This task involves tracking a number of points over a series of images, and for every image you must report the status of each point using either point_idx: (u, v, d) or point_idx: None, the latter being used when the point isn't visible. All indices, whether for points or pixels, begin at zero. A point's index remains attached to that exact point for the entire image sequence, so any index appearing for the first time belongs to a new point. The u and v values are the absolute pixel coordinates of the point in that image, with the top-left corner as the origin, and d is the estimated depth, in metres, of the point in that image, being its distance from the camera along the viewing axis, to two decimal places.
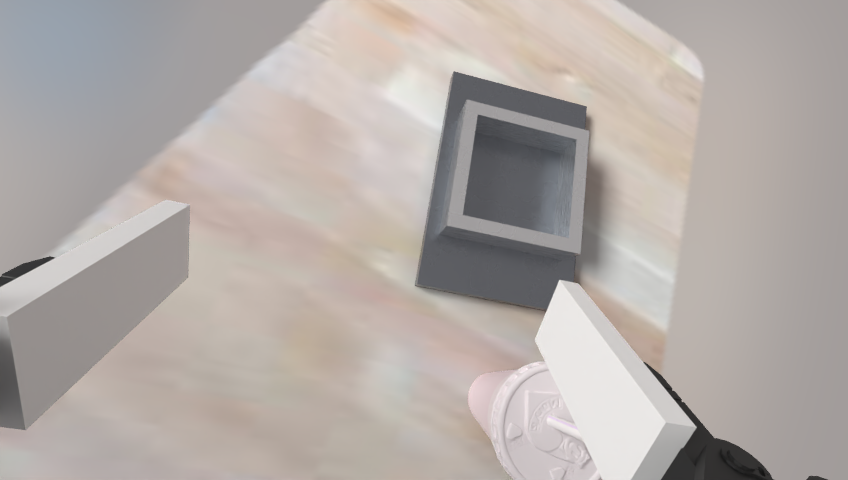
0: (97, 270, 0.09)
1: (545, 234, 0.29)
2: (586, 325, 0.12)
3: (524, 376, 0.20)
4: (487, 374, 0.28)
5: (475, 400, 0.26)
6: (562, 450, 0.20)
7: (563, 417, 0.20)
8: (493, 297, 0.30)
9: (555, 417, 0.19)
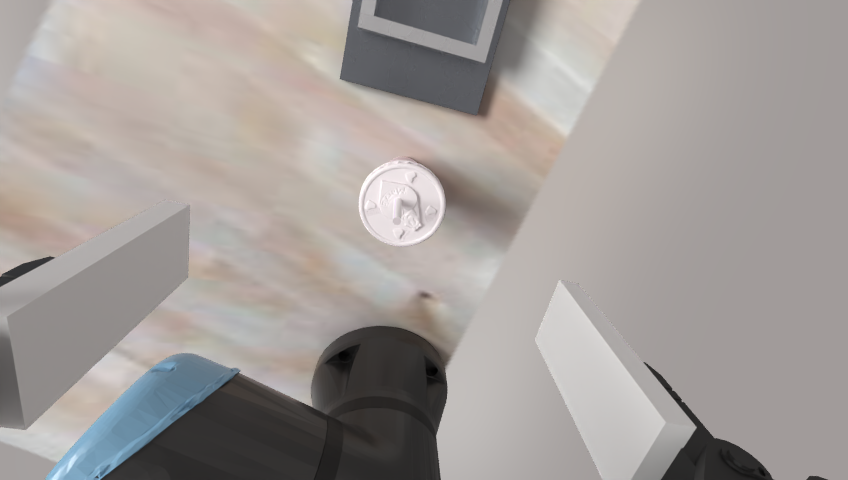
0: (97, 270, 0.09)
1: (453, 40, 0.31)
2: (586, 325, 0.12)
3: (381, 170, 0.28)
4: (394, 159, 0.36)
5: None
6: (402, 219, 0.29)
7: (405, 200, 0.29)
8: (407, 95, 0.34)
9: (396, 200, 0.28)
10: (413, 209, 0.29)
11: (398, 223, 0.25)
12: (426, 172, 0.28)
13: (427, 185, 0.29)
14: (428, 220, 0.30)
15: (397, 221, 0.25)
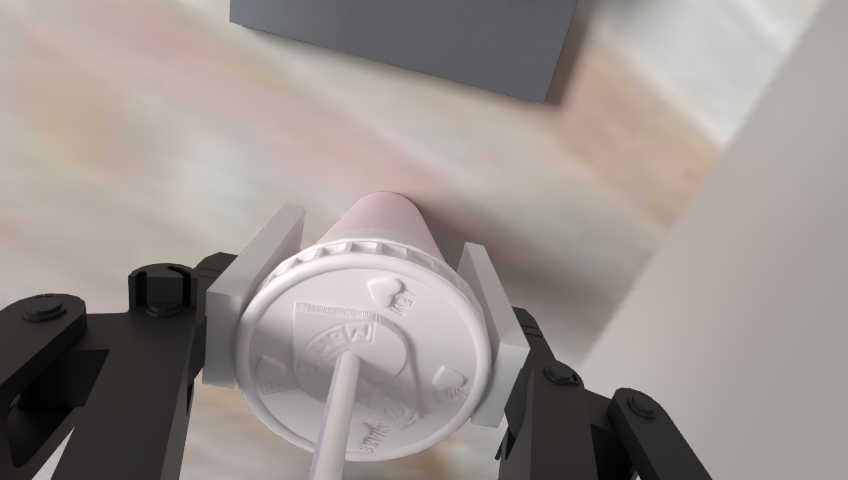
0: (270, 263, 0.11)
1: None
2: (474, 276, 0.14)
3: (292, 276, 0.09)
4: (362, 201, 0.17)
5: None
6: (365, 405, 0.10)
7: (373, 358, 0.09)
8: (389, 60, 0.15)
9: (341, 367, 0.09)
10: (396, 380, 0.10)
11: None
12: (434, 279, 0.09)
13: (438, 314, 0.09)
14: (441, 401, 0.10)
15: None
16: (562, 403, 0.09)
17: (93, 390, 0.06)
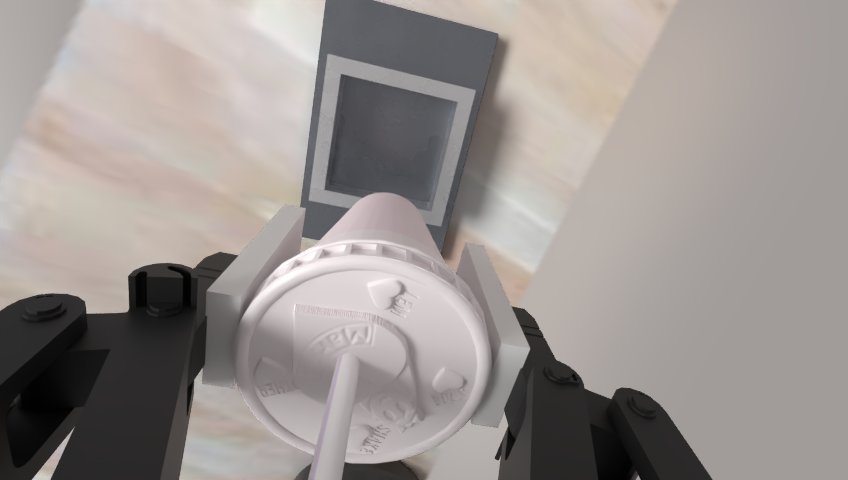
0: (270, 263, 0.11)
1: None
2: (474, 277, 0.14)
3: (292, 277, 0.09)
4: (362, 202, 0.16)
5: None
6: (365, 407, 0.10)
7: (372, 360, 0.09)
8: None
9: (341, 369, 0.09)
10: (396, 382, 0.10)
11: None
12: (435, 281, 0.09)
13: (438, 316, 0.09)
14: (441, 403, 0.10)
15: None
16: (562, 403, 0.09)
17: (93, 390, 0.06)
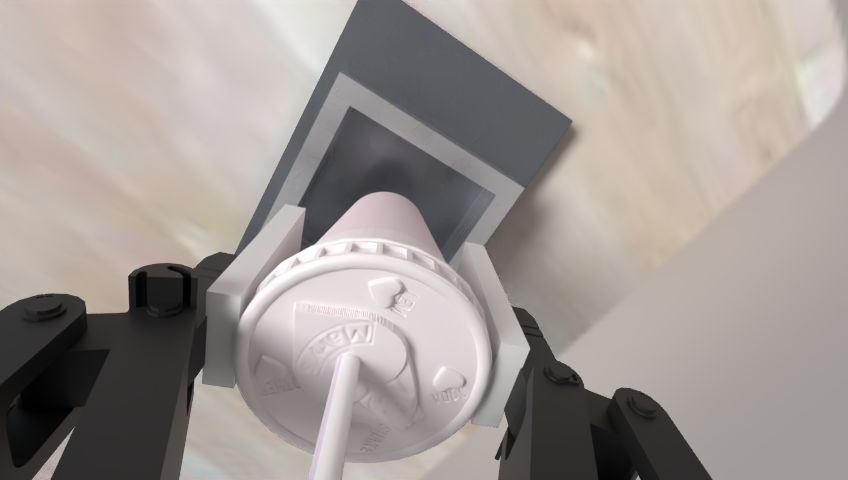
0: (270, 263, 0.11)
1: None
2: (474, 276, 0.14)
3: (292, 275, 0.09)
4: (362, 201, 0.16)
5: None
6: (365, 406, 0.10)
7: (373, 359, 0.09)
8: None
9: (341, 368, 0.09)
10: (396, 381, 0.10)
11: None
12: (435, 280, 0.09)
13: (438, 315, 0.09)
14: (441, 402, 0.10)
15: None
16: (562, 403, 0.09)
17: (93, 390, 0.06)
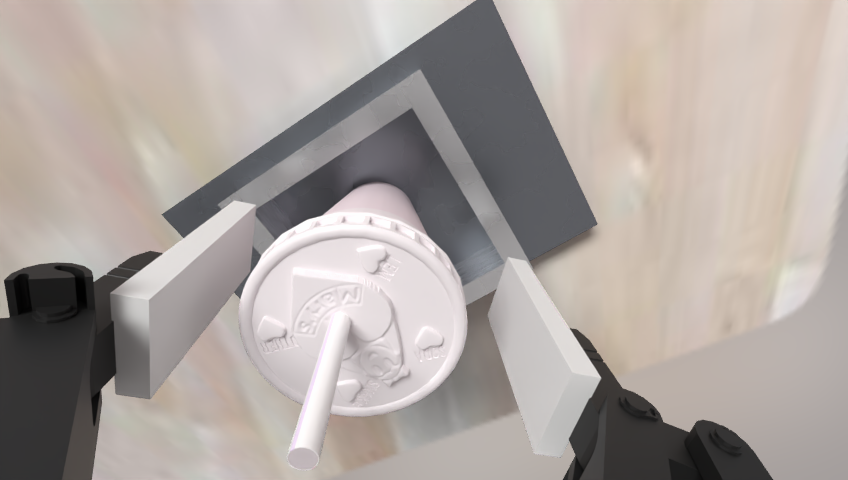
0: (199, 262, 0.10)
1: None
2: (524, 295, 0.13)
3: (291, 243, 0.10)
4: (356, 189, 0.18)
5: None
6: (356, 362, 0.11)
7: (362, 318, 0.11)
8: None
9: (333, 324, 0.10)
10: (383, 339, 0.11)
11: (309, 465, 0.07)
12: (415, 247, 0.10)
13: (418, 279, 0.11)
14: (424, 360, 0.12)
15: (307, 456, 0.07)
16: (639, 436, 0.08)
17: None
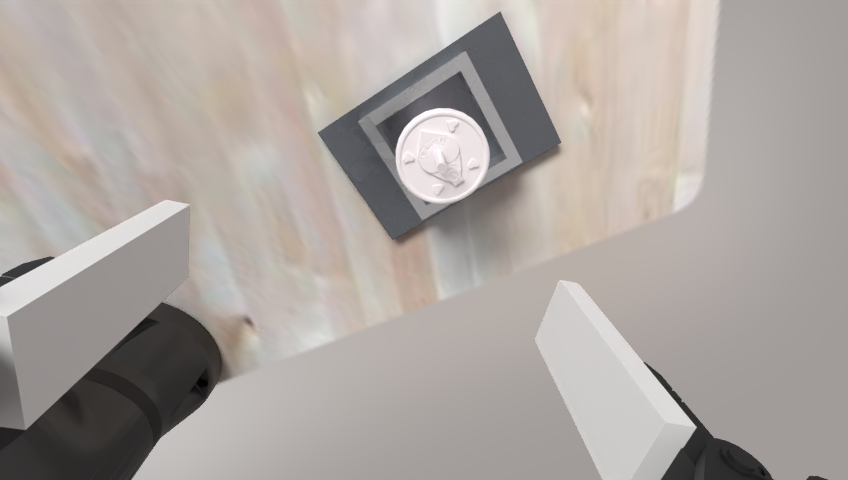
0: (97, 270, 0.09)
1: None
2: (586, 325, 0.12)
3: (421, 118, 0.26)
4: None
5: None
6: (442, 173, 0.27)
7: (447, 151, 0.27)
8: (356, 186, 0.37)
9: (437, 150, 0.26)
10: (454, 162, 0.27)
11: (443, 170, 0.23)
12: (469, 120, 0.26)
13: (470, 135, 0.26)
14: (470, 175, 0.27)
15: (442, 168, 0.23)
16: None
17: None
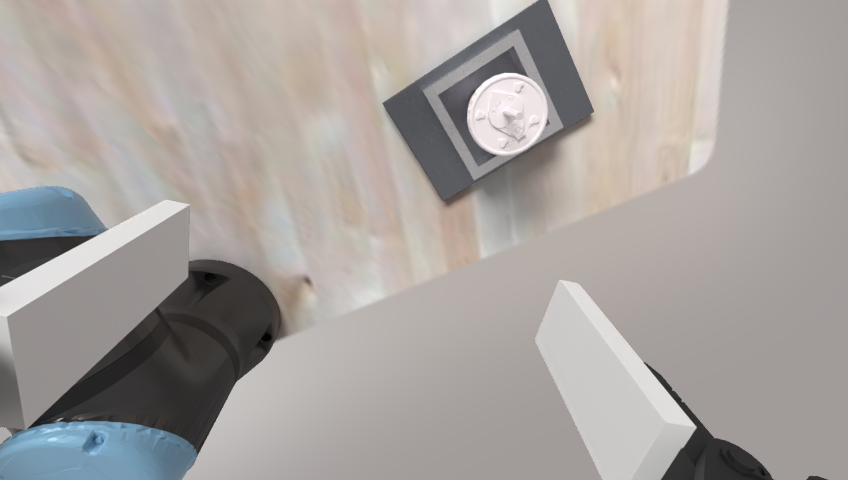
0: (97, 270, 0.09)
1: (468, 152, 0.40)
2: (586, 325, 0.12)
3: (492, 80, 0.31)
4: None
5: (469, 103, 0.38)
6: (508, 128, 0.32)
7: (513, 109, 0.32)
8: (414, 152, 0.42)
9: (506, 107, 0.31)
10: None
11: (520, 118, 0.28)
12: (533, 82, 0.31)
13: (533, 95, 0.31)
14: (531, 130, 0.32)
15: (519, 117, 0.28)
16: None
17: None
